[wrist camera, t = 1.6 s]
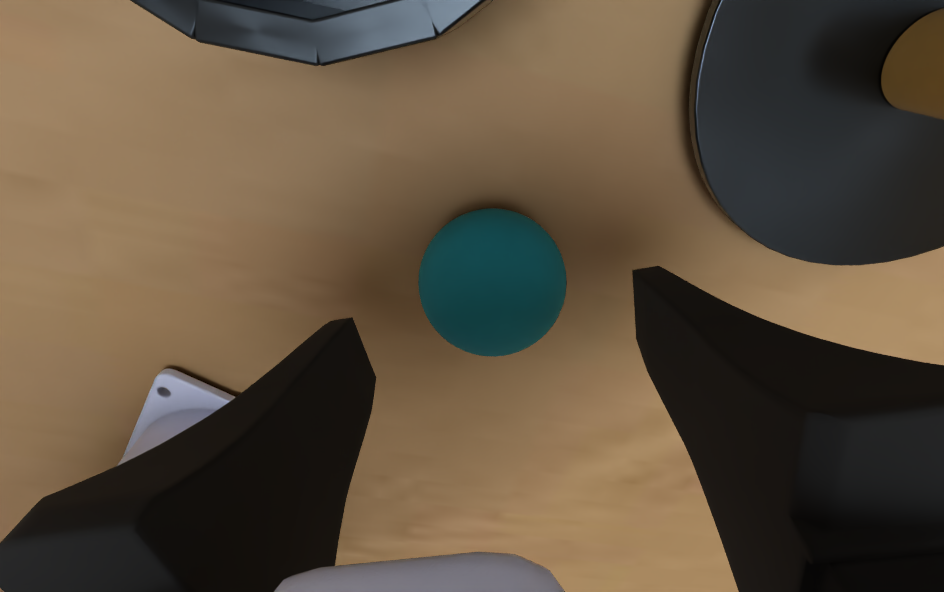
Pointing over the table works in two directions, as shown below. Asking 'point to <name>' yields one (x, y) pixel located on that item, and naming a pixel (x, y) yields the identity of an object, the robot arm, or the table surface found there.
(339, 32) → the black pot
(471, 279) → the ball
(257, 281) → the table surface
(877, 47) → the pot lid
